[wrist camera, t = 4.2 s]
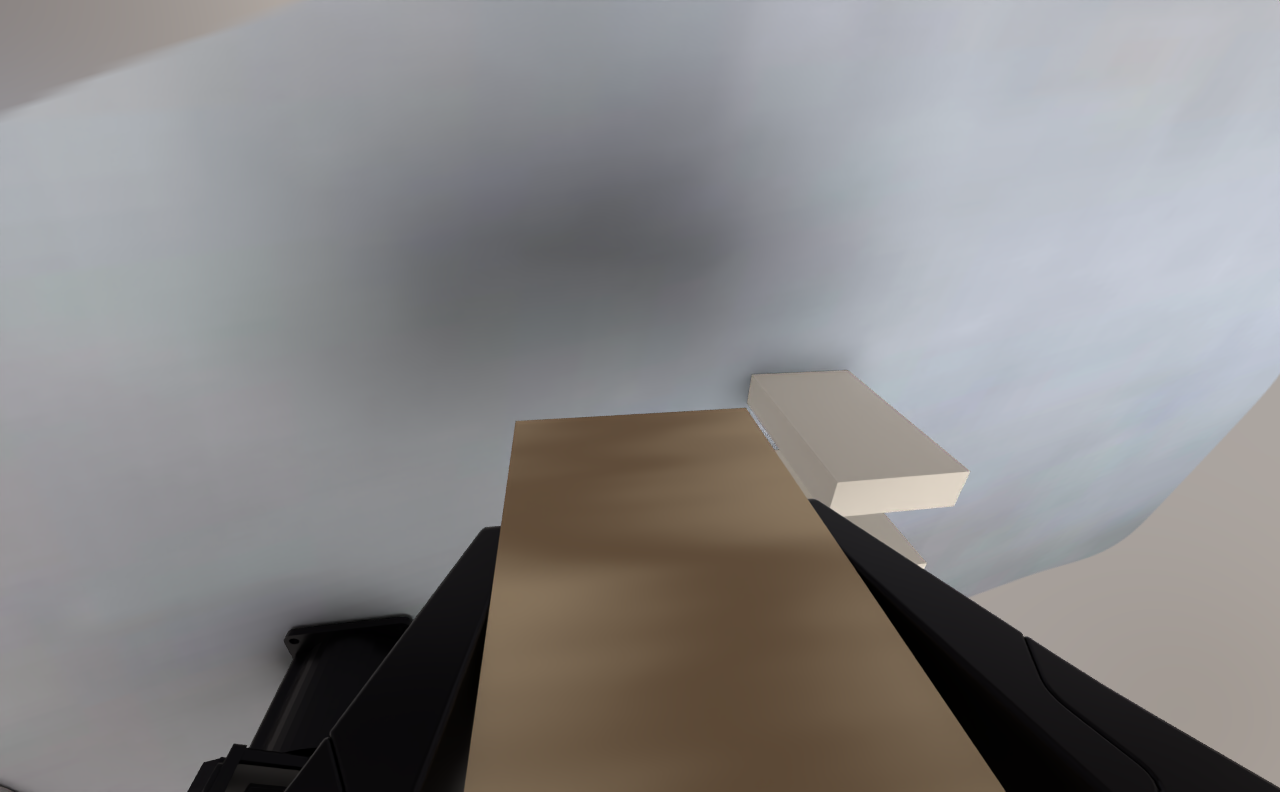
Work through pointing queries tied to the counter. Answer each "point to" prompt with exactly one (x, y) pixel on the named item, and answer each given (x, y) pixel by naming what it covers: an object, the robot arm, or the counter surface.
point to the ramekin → (4, 789)
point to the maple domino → (691, 628)
